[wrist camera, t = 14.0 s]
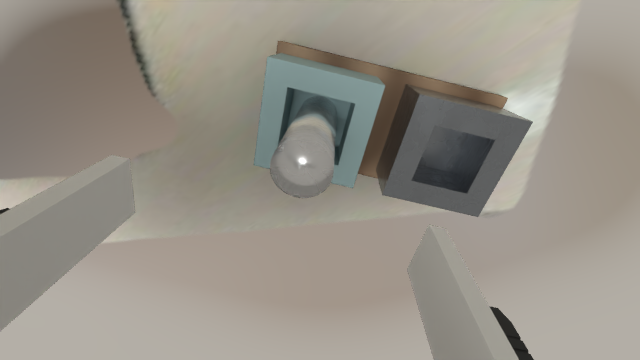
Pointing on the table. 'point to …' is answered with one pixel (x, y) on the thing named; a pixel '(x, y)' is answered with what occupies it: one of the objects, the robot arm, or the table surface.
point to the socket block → (447, 150)
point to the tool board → (386, 94)
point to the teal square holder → (327, 81)
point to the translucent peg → (307, 150)
